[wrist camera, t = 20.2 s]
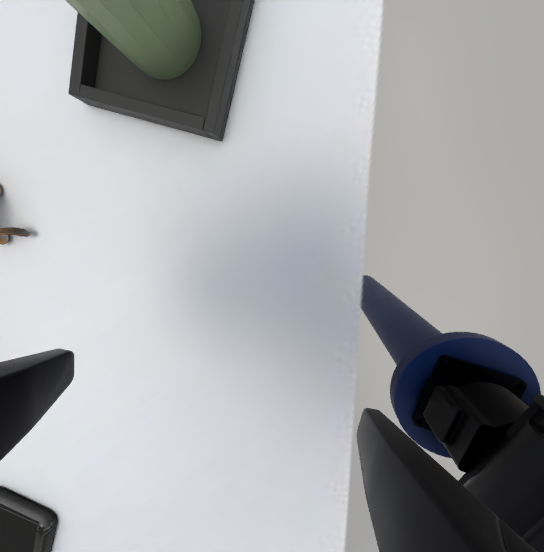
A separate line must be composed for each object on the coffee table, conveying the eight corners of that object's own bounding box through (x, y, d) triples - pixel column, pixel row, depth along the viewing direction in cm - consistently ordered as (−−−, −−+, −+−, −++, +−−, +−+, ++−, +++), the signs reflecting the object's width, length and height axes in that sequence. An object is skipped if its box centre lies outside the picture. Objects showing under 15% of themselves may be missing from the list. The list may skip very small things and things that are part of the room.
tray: (262, -36, 17) (257, -64, 15) (222, 141, 19) (213, 133, 17) (110, -68, 18) (89, -98, 16) (88, 104, 20) (68, 93, 18)
